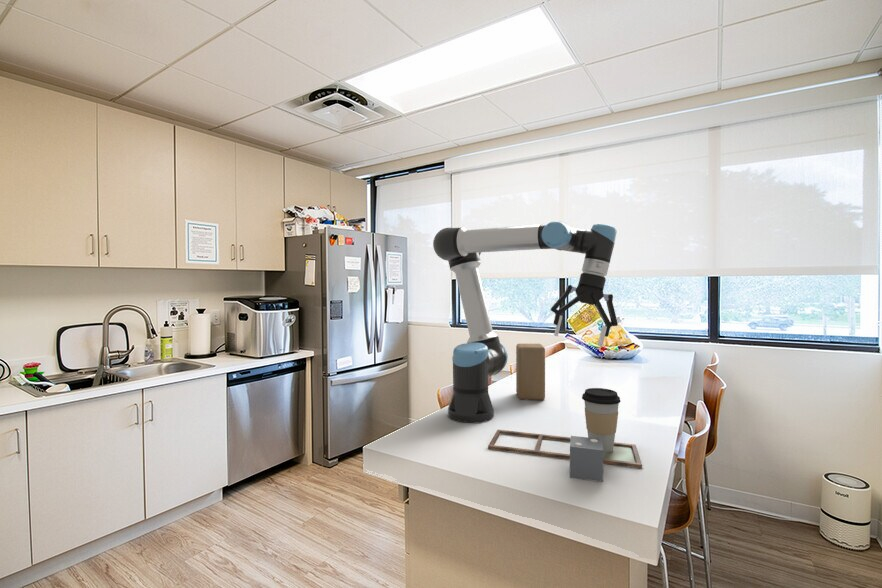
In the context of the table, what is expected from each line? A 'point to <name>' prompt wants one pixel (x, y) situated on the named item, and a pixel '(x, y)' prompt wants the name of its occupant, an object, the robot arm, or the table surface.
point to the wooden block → (530, 371)
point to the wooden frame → (616, 457)
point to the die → (586, 458)
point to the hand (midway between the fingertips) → (577, 341)
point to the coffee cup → (601, 415)
